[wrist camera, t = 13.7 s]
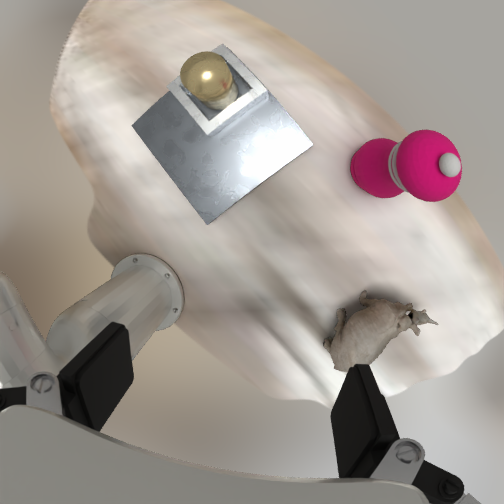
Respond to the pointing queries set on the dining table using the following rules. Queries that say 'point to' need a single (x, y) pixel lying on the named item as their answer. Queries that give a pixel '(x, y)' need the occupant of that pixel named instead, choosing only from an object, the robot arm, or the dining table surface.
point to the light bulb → (209, 80)
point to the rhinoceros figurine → (370, 331)
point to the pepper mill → (408, 166)
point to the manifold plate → (221, 140)
